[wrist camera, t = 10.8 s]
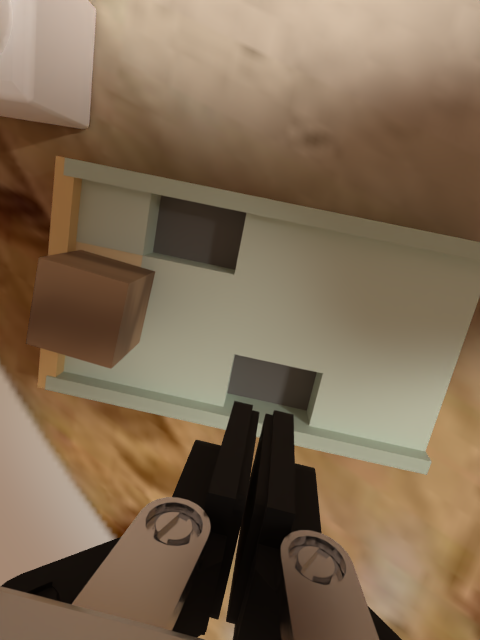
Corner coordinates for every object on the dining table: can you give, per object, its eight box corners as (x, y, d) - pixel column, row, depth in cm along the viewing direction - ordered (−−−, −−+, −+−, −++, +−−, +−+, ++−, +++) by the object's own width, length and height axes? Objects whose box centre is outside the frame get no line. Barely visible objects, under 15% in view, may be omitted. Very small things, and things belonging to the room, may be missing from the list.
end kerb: (100, 166, 28) (75, 159, 25) (78, 371, 32) (54, 390, 29) (83, 162, 28) (55, 155, 25) (63, 368, 32) (37, 386, 29)
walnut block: (81, 249, 27) (38, 257, 22) (155, 271, 27) (129, 283, 22) (68, 321, 28) (25, 343, 24) (139, 342, 28) (111, 368, 24)
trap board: (477, 243, 27) (508, 247, 24) (409, 444, 31) (426, 474, 28) (91, 164, 28) (64, 157, 25) (70, 369, 32) (45, 389, 28)
